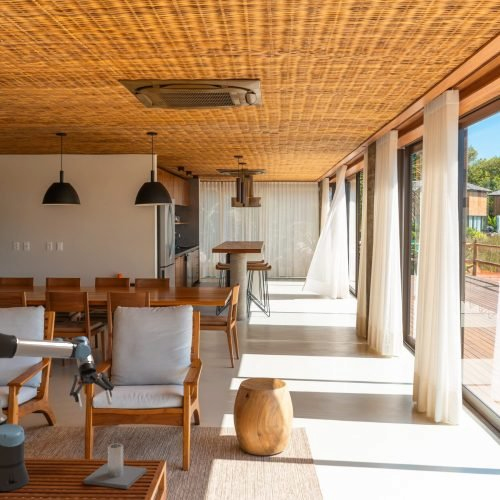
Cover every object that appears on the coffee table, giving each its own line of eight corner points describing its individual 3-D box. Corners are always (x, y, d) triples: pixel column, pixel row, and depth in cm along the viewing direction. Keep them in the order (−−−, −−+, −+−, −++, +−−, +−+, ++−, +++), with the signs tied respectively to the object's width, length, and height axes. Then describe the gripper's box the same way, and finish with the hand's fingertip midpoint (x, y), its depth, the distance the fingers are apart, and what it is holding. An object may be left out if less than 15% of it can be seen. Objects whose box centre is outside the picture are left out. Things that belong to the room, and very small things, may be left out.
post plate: (83, 483, 236) (83, 460, 236) (105, 466, 253) (105, 445, 253) (127, 489, 231) (127, 465, 230) (146, 471, 248) (146, 449, 248)
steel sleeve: (105, 476, 240) (105, 447, 239) (112, 470, 245) (112, 443, 245) (118, 477, 238) (118, 449, 238) (125, 471, 244) (125, 444, 244)
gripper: (109, 367, 279) (120, 405, 266) (58, 373, 265) (66, 414, 253) (113, 359, 274) (124, 397, 262) (61, 364, 260) (69, 405, 248)
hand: (95, 405), depth 257 cm, fingers open, 13 cm apart
